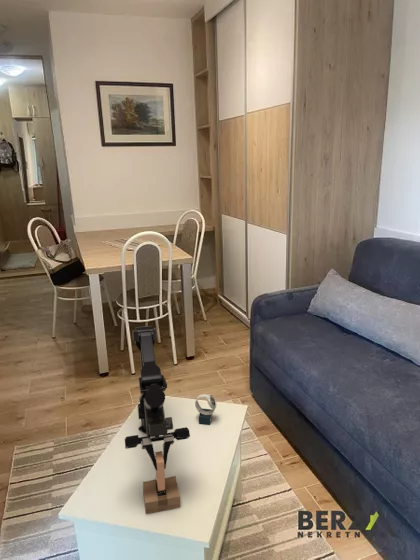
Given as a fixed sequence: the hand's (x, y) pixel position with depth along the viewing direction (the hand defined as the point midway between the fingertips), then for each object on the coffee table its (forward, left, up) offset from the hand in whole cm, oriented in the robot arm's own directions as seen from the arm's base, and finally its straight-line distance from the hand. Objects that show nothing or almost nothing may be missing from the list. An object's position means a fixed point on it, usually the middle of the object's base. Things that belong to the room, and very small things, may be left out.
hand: (160, 469), depth 116 cm
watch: (-12, +39, -13) cm, 43 cm away
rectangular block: (-1, +1, -7) cm, 7 cm away
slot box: (-1, +1, -12) cm, 12 cm away
